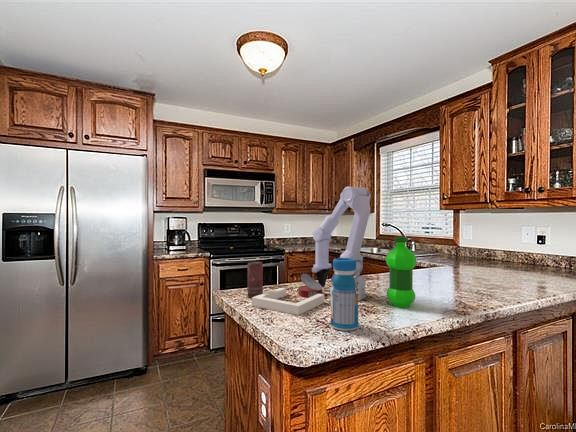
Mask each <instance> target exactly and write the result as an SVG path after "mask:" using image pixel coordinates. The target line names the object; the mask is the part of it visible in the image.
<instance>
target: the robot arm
mask: <svg viewBox="0 0 576 432" xmlns="http://www.w3.org/2000/svg"><path fill="white" fill-rule="evenodd" d="M339 196H340V197H339V198H340V199H339V201H338V202H337V204H336V205H335V207H334V209H333V211H332V213H331V214H328V215H326V216H325V217H324V220H323V221H322V223H321V224H320V225H319V227H315V228H314V230H313V232H312V239H313V240H314V241H315V262H314V263H315V264H313V265H312V266H313V267H312V268H311V272H312V273H313V274H315V276H316V279H317V282H318V283H319V284H320V285H321V286H322V288H325V286H326V283H327V278H328V276H329V274H330V272H331V271H330V269H332V263H329V262H330V261H329V256H330V255H329V254H330V253H329V245H330V243H331V242H330V241H331V239H332V236H333V235H332V233H333V232H334V230H335V229H336V227H337V226H338V225H339V219H340V217H341V216H342V215H343V214H344V213H345V212H346V211H347V209H348V208H349V207H350V208H351V209H352V211H353V212H354V214H353V219H352V222H351V226H350V227H351V228H350V231H349V235H348V239H347V244H346V247H345V250H344V251H343V252H342V253H341V254H340V256H339V258H351V259H355V260H356V271H354V273H355V275H356V276H357V279H358V282H359V284H358V289H359V296H358V302H360V301H362V300H364V299H365V298H366V297H367V295H366V279H365V277H363V276H360V273H361V272H362V270H363V267H364V266H363V265H364V264H363V260H364V257H363V256H362V255H361V253H360V252H361V249H362V246H363V241H364V238H365V235H366V234H365V233H366V229H367V225H368V221H369V217H370V213H371V205H370V204H371V203H370V201H371V197H372V195H371V193H370V192H369V190H368V189H367V188H366V187H357V186H355V187H354V186H346V187H344V189H343V190H342V192H341V193H340V195H339Z"/></svg>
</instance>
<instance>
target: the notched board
mask: <svg viewBox="0 0 576 432" xmlns="http://www.w3.org/2000/svg"><path fill="white" fill-rule="evenodd" d="M286 296H287V288H286V287H279V288H276V289H273V290H270V291H267V292H263V294H261V295H258V296H255V297H252V298H251V306H253V307H256V308H257V307H258V308H261V309H266V310H272V311H277V312H280V313H285V314H290V315H296V316H300V315H302V314H304V313H306V312H308V311H310V310H312V309H314V308H316V307H319V306H320V305H322V304H324V303H325V294H324V293H322V294H316V295H314V296H312V297H309V298H305V299H302V300H300V301H297V302H291V301H287V300H281V298H283V297H286Z"/></svg>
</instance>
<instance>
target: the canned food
mask: <svg viewBox="0 0 576 432" xmlns="http://www.w3.org/2000/svg"><path fill="white" fill-rule="evenodd" d="M300 279H301V280H300V281H301V282H302V283H303V284H304V285H301V286H299V287H298V297H301V298H305V299H307V298H309V297H312V296H314V295H316V294H323V287H322V286H321V285H320V284H319V283H318V280H316V279H314V277H312V276H311V275H310V274H308V273H302V274H301V275H300Z"/></svg>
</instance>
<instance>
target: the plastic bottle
mask: <svg viewBox="0 0 576 432" xmlns="http://www.w3.org/2000/svg"><path fill="white" fill-rule="evenodd" d="M394 242H395V243H396V244H395V246H394V247H393V248H392V249H391V250H390V251H388V252H387V254H386V256H385V263H386V265H387V266H388V267H389V270H388V271H389V272H388V273H389V274H388V275H389V276H388V277H389V280H388V281H389V287H388V289H387V291H386V298H387V299H388V301H389V302H390V303H391V304H392V305H393V306H394V307H396V308H403V309H404V308H408V307H409V306H410V305H412V304H413V303H414V302H415V300H416V293H415V290H414V289H413V286H414V284H413V279H414V278H413V277H414V276H413V270H414V268H415V267H416V266H417V257H416V254H414V252H412V250H410V249H409V248H408V247H407V245H406V243H408V236H394Z"/></svg>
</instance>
